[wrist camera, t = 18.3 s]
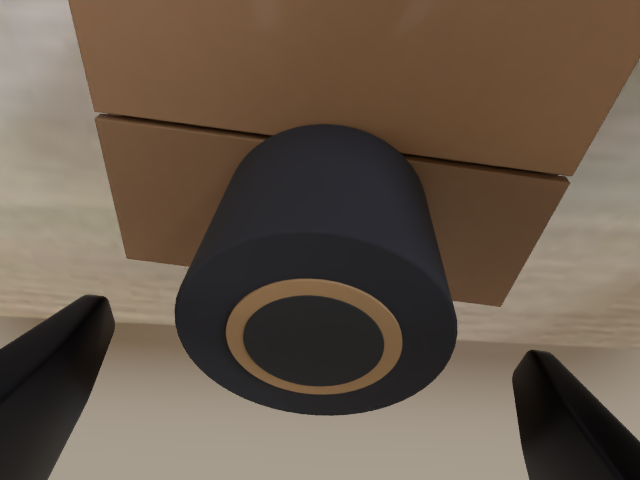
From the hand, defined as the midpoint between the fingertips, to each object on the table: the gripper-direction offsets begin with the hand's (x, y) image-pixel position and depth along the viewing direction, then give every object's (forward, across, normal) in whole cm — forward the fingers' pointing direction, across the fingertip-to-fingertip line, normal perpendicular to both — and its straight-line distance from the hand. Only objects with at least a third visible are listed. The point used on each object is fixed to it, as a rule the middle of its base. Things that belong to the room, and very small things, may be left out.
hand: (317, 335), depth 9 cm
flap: (+6, 0, -5) cm, 7 cm away
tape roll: (+5, 0, +1) cm, 5 cm away
